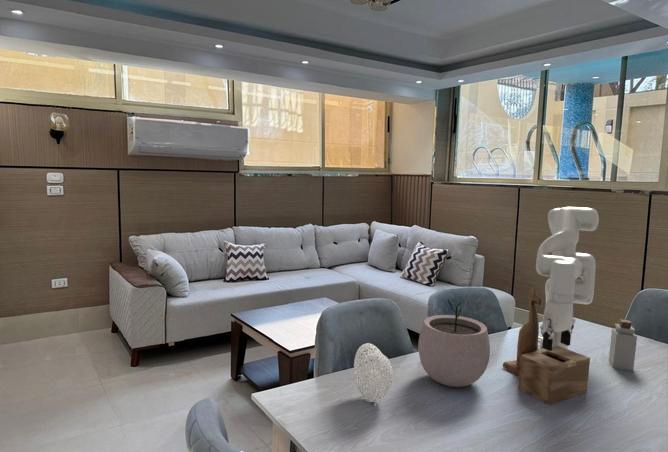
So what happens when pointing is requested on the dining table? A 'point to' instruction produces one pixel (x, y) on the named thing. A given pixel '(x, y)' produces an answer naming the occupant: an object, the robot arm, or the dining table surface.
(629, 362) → the perfume bottle
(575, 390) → the box
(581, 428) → the dining table surface
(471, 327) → the plant pot
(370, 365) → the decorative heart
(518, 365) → the bird sculpture
